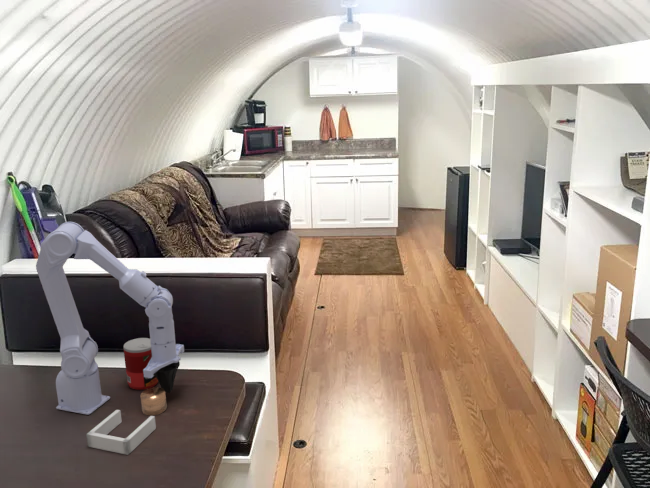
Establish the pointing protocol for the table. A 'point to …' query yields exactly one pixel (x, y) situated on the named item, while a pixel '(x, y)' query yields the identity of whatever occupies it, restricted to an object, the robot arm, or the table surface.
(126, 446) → the u-shaped bracket
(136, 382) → the canned food
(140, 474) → the table surface
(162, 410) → the tan short cylinder
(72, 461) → the table surface
